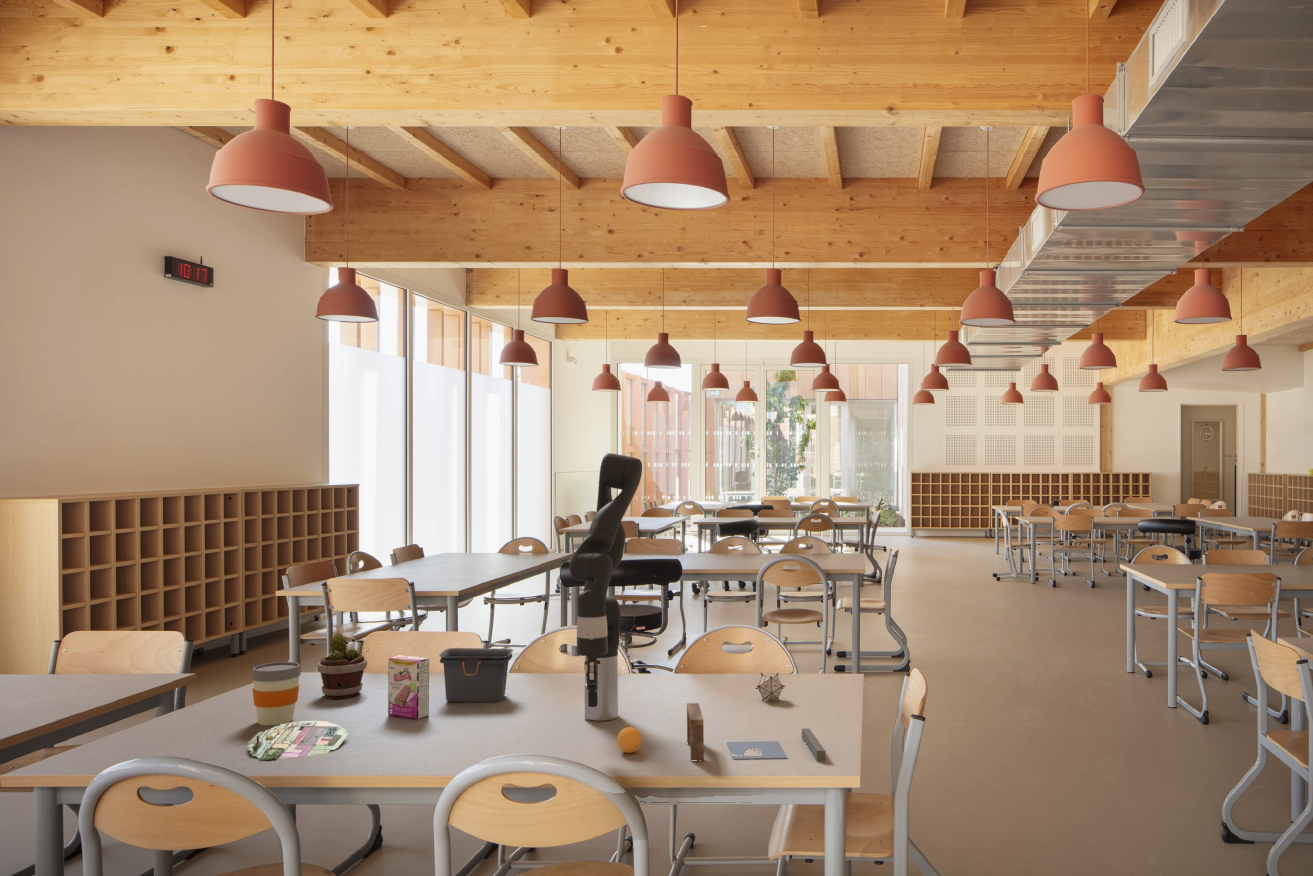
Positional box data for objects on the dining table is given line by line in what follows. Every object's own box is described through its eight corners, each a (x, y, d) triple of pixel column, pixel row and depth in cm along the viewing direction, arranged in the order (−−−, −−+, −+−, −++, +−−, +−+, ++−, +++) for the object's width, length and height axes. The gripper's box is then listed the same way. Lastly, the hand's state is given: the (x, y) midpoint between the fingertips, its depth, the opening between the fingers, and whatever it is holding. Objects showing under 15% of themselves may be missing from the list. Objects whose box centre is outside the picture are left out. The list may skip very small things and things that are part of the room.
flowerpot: (373, 696, 266) (374, 631, 267) (322, 704, 257) (322, 636, 258) (360, 687, 278) (361, 625, 279) (311, 694, 269) (311, 629, 270)
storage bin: (514, 693, 269) (514, 647, 269) (507, 706, 253) (507, 657, 254) (446, 694, 268) (446, 647, 269) (434, 707, 253) (434, 658, 253)
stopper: (816, 761, 201) (816, 750, 201) (801, 738, 219) (801, 728, 219) (825, 761, 201) (825, 750, 201) (809, 738, 219) (809, 728, 219)
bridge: (691, 761, 202) (690, 719, 202) (687, 742, 217) (686, 703, 217) (703, 761, 202) (703, 719, 203) (698, 742, 217) (698, 703, 217)
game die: (773, 715, 255) (775, 693, 249) (749, 701, 259) (750, 679, 254) (789, 695, 261) (791, 673, 255) (765, 682, 265) (766, 660, 260)
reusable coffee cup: (240, 724, 236) (241, 669, 236) (275, 713, 247) (275, 660, 248) (276, 729, 231) (277, 672, 232) (309, 717, 243) (310, 663, 244)
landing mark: (732, 759, 203) (732, 758, 203) (726, 742, 216) (726, 742, 216) (787, 758, 204) (787, 757, 204) (778, 742, 217) (778, 741, 217)
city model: (238, 777, 200) (239, 752, 200) (242, 738, 222) (243, 715, 221) (351, 765, 210) (352, 740, 210) (345, 728, 232) (346, 706, 231)
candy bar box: (386, 716, 243) (387, 657, 244) (399, 711, 248) (399, 654, 249) (417, 720, 239) (418, 660, 239) (429, 716, 243) (430, 657, 244)
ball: (617, 756, 206) (617, 731, 206) (617, 748, 212) (617, 724, 212) (642, 756, 206) (641, 731, 206) (641, 748, 212) (641, 723, 212)
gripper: (578, 630, 217) (578, 700, 216) (575, 639, 203) (576, 713, 202) (607, 629, 217) (608, 699, 216) (607, 638, 204) (607, 712, 203)
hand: (592, 706), depth 209 cm, fingers closed
